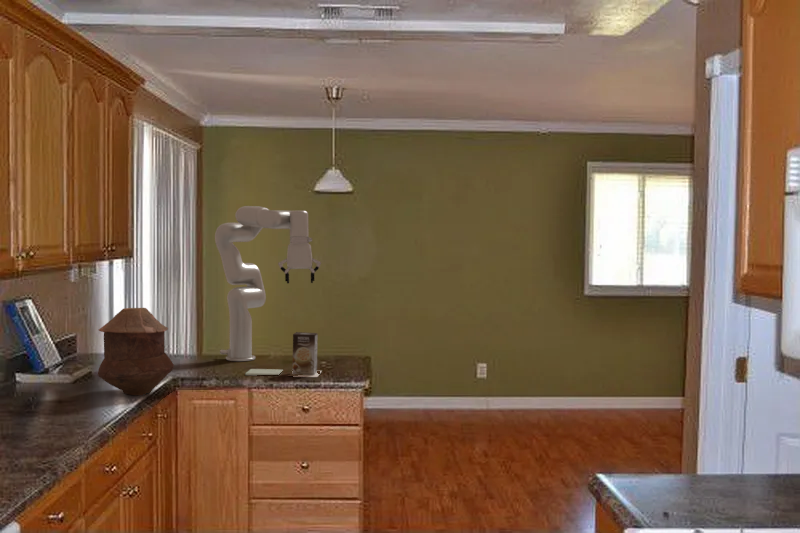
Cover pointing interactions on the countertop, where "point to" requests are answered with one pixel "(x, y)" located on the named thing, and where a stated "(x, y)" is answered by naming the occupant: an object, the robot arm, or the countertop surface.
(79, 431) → the countertop surface
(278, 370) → the green pad
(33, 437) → the countertop surface
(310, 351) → the coffee box
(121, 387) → the pottery vessel
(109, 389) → the countertop surface
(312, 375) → the card
